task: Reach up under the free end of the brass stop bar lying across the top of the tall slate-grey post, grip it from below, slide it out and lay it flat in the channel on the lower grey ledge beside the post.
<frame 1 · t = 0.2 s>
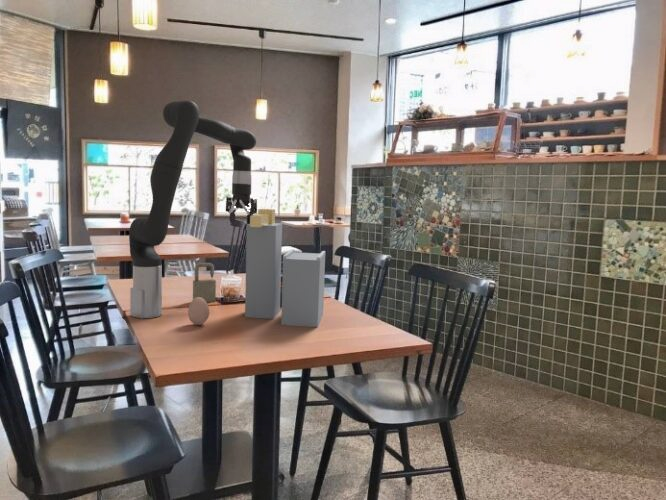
hand: (240, 223, 218), 30 cm above the table, tool pointing down, fingers open, 8 cm apart
supplement bottle: (284, 305, 209), on the table
padlock: (204, 302, 210), on the table
brass stop bar: (261, 225, 184), point 32 cm above the table, touching slate post and ledge
egg: (198, 325, 175), on the table
slate post and ledge: (259, 318, 187), on the table
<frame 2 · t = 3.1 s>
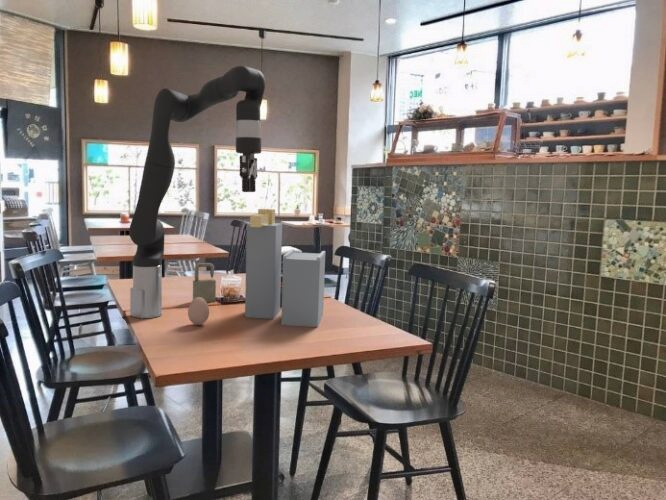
hand: (249, 192, 163), 43 cm above the table, tool pointing down, fingers open, 8 cm apart
nothing on the table moved.
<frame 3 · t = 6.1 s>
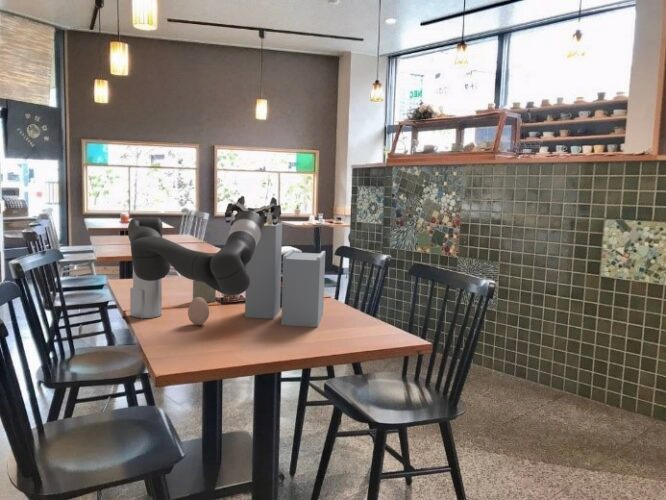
hand: (258, 199, 150), 42 cm above the table, tool pointing upward, fingers open, 8 cm apart
nothing on the table moved.
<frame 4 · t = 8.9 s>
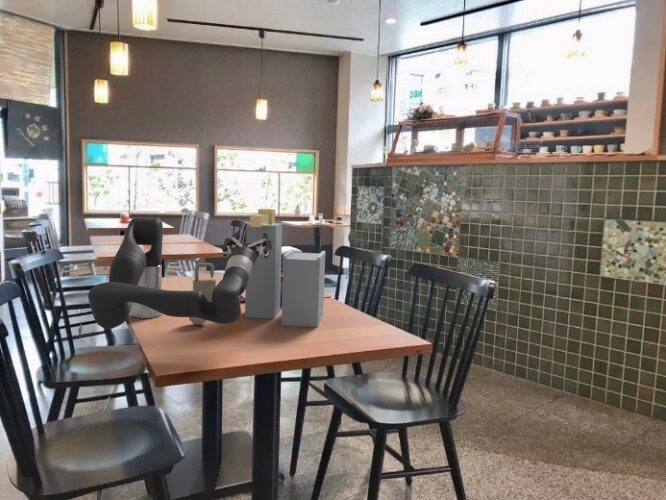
hand: (251, 234, 170), 30 cm above the table, tool pointing upward, fingers open, 8 cm apart
nothing on the table moved.
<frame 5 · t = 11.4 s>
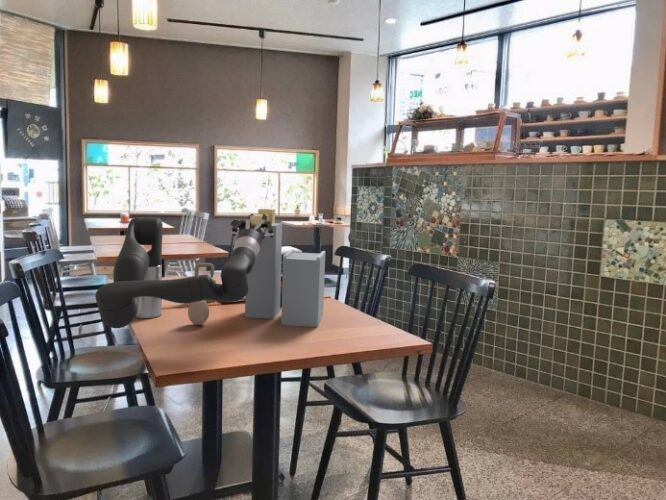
hand: (258, 216, 179), 35 cm above the table, tool pointing upward, fingers closed on brass stop bar, 3 cm apart
brass stop bar: (261, 225, 184), point 32 cm above the table, touching gripper, slate post and ledge
everything else where it was.
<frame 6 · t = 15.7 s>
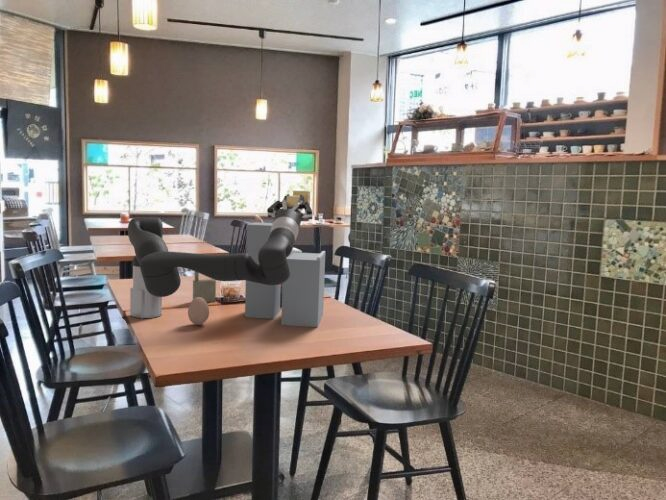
hand: (295, 197, 166), 42 cm above the table, tool pointing upward, fingers closed on brass stop bar, 3 cm apart
brass stop bar: (297, 207, 171), point 39 cm above the table, touching gripper
everything else where it was.
when the fingers open (28 cm above the table, at t = 19.9 s): brass stop bar drops 3 cm, resting on slate post and ledge.
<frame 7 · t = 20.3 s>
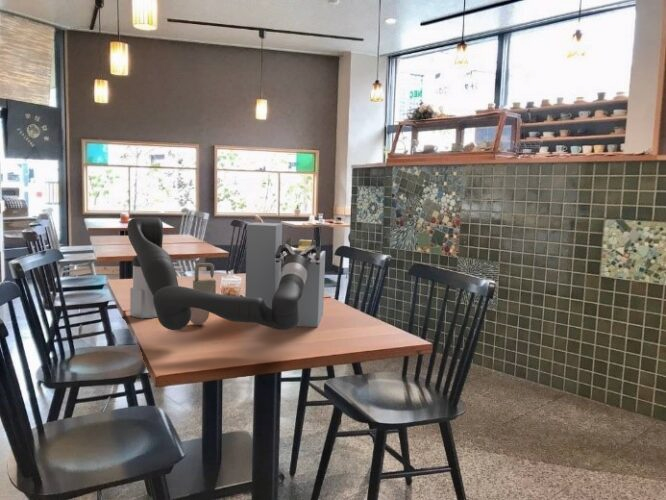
hand: (301, 240, 175), 28 cm above the table, tool pointing upward, fingers open, 6 cm apart
brass stop bar: (303, 257, 180), point 22 cm above the table, touching slate post and ledge
everything else where it was.
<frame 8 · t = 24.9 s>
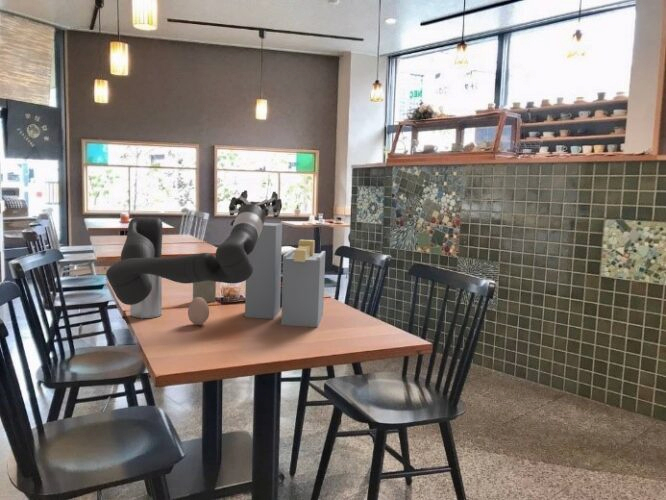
hand: (260, 193, 159), 43 cm above the table, tool pointing upward, fingers open, 8 cm apart
nothing on the table moved.
at the end: brass stop bar inside the target area on the slate post and ledge (0.4 cm from its centre), point 22.0 cm above the slate post and ledge's base; brass stop bar tilted 0°; the gripper is holding nothing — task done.
